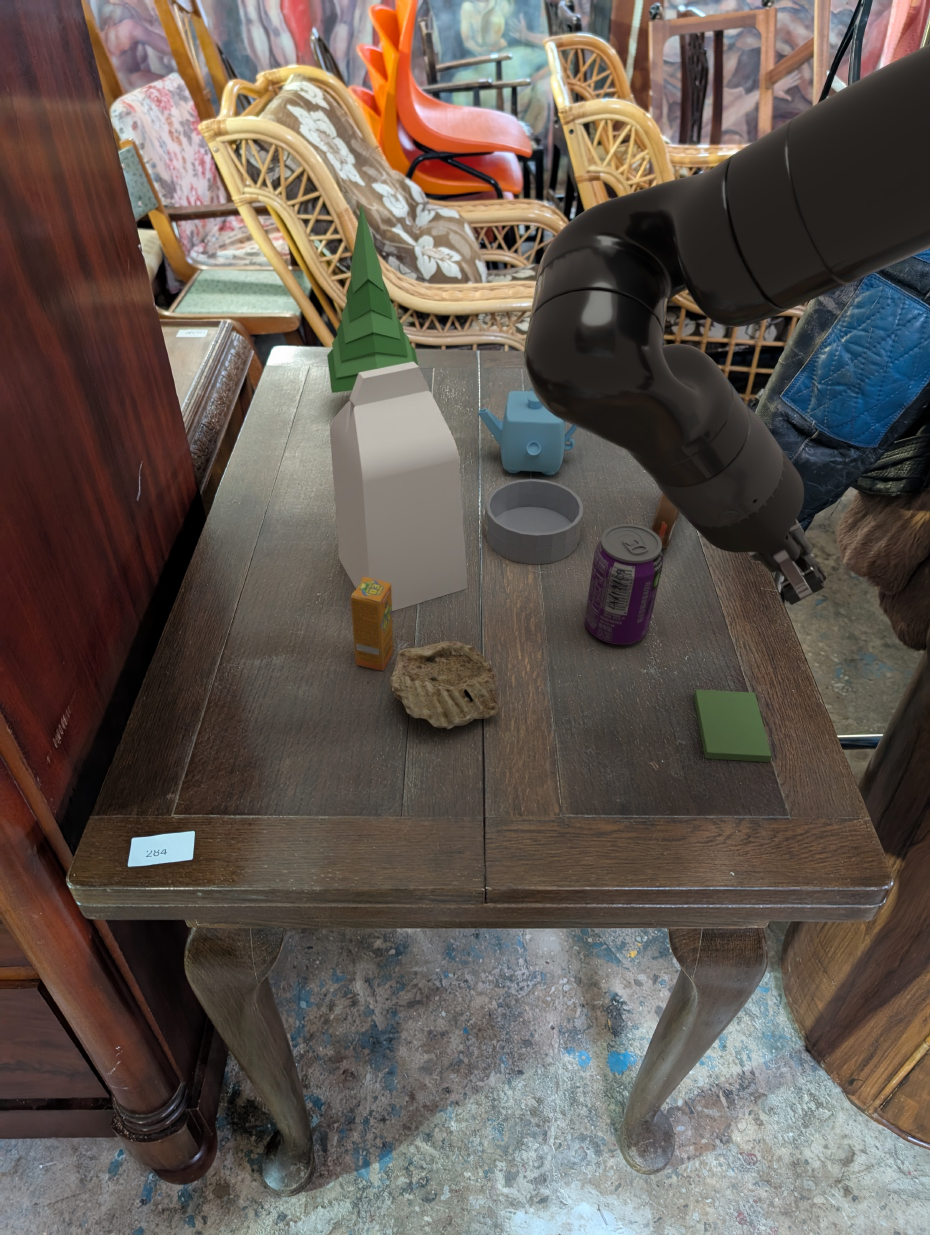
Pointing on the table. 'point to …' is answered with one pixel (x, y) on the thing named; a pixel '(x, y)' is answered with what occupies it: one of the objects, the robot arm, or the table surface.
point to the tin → (665, 520)
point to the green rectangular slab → (731, 726)
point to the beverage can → (624, 583)
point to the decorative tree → (366, 320)
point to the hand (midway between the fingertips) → (810, 579)
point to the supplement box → (372, 623)
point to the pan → (533, 521)
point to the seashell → (445, 684)
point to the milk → (398, 488)
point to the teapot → (529, 434)
